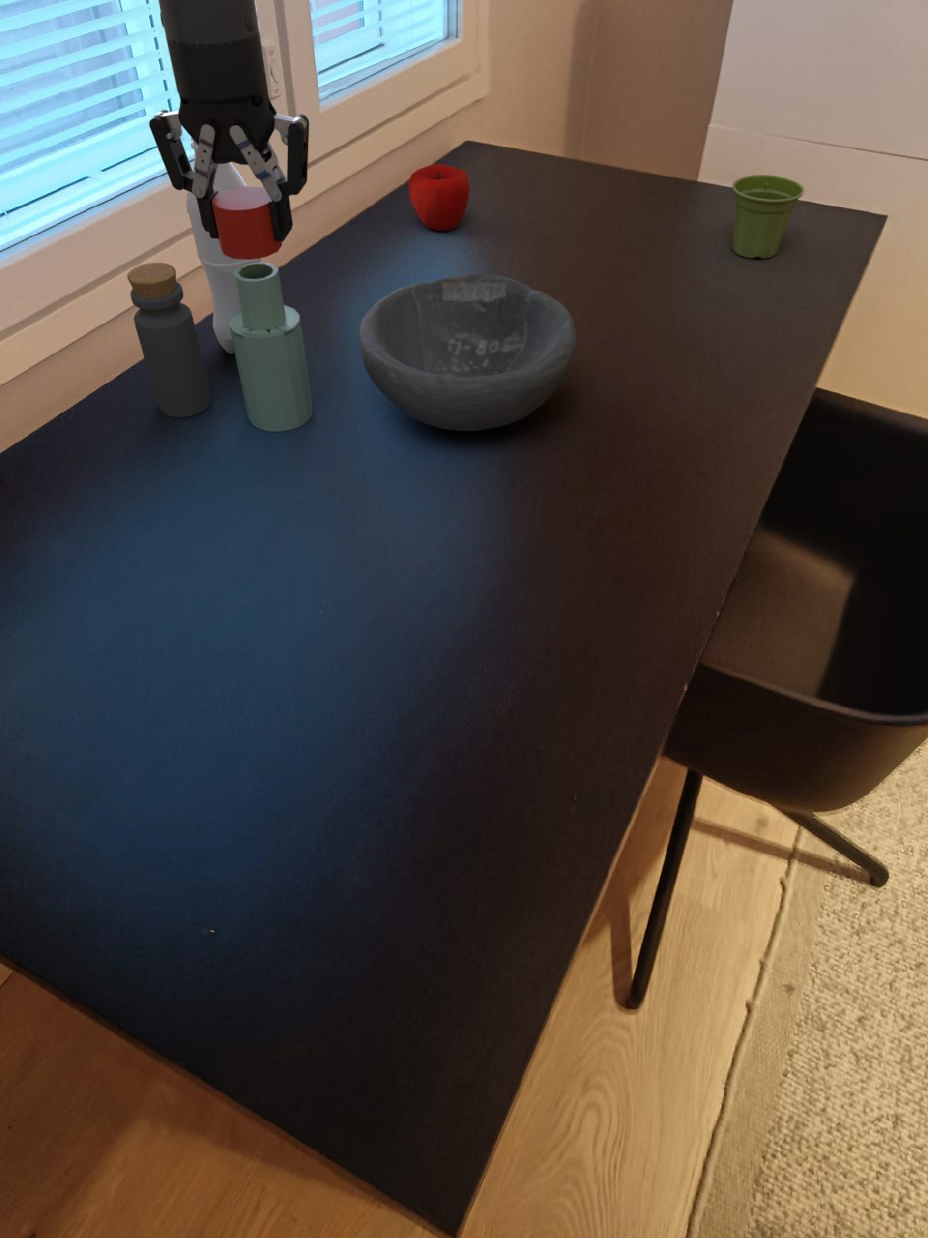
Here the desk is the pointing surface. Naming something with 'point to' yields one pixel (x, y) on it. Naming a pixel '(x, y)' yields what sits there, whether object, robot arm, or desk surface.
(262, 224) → the cap
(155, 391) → the bottle
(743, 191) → the plant pot
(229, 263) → the water bottle
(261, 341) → the ceramic bottle
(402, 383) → the bowl
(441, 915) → the desk surface
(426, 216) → the apple
